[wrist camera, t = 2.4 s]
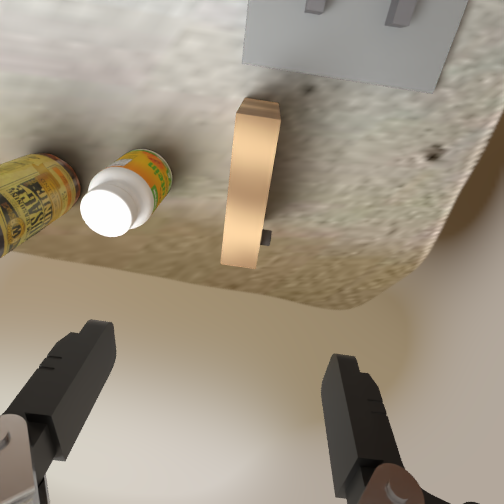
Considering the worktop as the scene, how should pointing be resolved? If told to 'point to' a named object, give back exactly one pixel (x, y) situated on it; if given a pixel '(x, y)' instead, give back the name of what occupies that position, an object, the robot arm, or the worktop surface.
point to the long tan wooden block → (250, 181)
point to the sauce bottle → (33, 196)
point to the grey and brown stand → (354, 39)
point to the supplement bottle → (126, 192)
